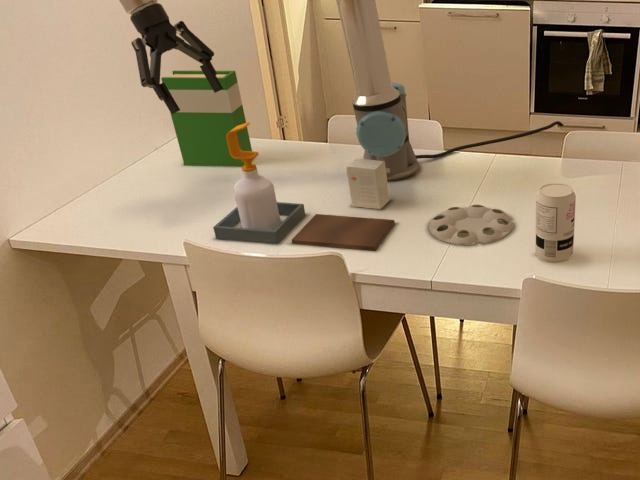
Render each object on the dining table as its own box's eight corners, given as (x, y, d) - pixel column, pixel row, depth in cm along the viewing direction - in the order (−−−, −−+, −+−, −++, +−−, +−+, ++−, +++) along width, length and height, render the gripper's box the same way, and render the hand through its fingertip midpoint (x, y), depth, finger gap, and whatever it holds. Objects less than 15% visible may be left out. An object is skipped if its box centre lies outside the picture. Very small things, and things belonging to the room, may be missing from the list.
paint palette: (456, 253, 166) (456, 245, 165) (414, 222, 179) (413, 214, 178) (529, 230, 174) (529, 222, 173) (483, 201, 188) (483, 194, 186)
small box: (390, 201, 190) (385, 160, 184) (380, 210, 185) (375, 169, 179) (361, 197, 192) (356, 157, 186) (351, 206, 188) (345, 165, 181)
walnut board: (394, 223, 179) (394, 219, 178) (375, 250, 168) (374, 246, 167) (316, 217, 183) (315, 213, 182) (292, 243, 172) (291, 239, 171)
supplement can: (532, 247, 167) (533, 183, 158) (569, 245, 167) (572, 181, 159) (537, 265, 160) (539, 199, 152) (576, 262, 161) (579, 196, 152)
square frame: (305, 215, 184) (303, 203, 182) (277, 244, 172) (275, 232, 170) (247, 210, 187) (245, 199, 186) (216, 238, 175) (212, 227, 173)
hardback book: (184, 165, 214) (161, 78, 200) (195, 155, 220) (173, 70, 206) (243, 166, 212) (224, 78, 198) (253, 156, 218) (235, 70, 204)
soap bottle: (271, 236, 175) (249, 132, 161) (235, 233, 177) (210, 130, 163) (287, 219, 182) (267, 118, 168) (252, 217, 184) (230, 117, 170)
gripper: (178, -1, 176) (227, 86, 185) (89, 31, 160) (148, 125, 169) (195, -13, 172) (244, 78, 181) (106, 20, 156) (165, 117, 165)
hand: (198, 101), depth 175 cm, fingers open, 13 cm apart
